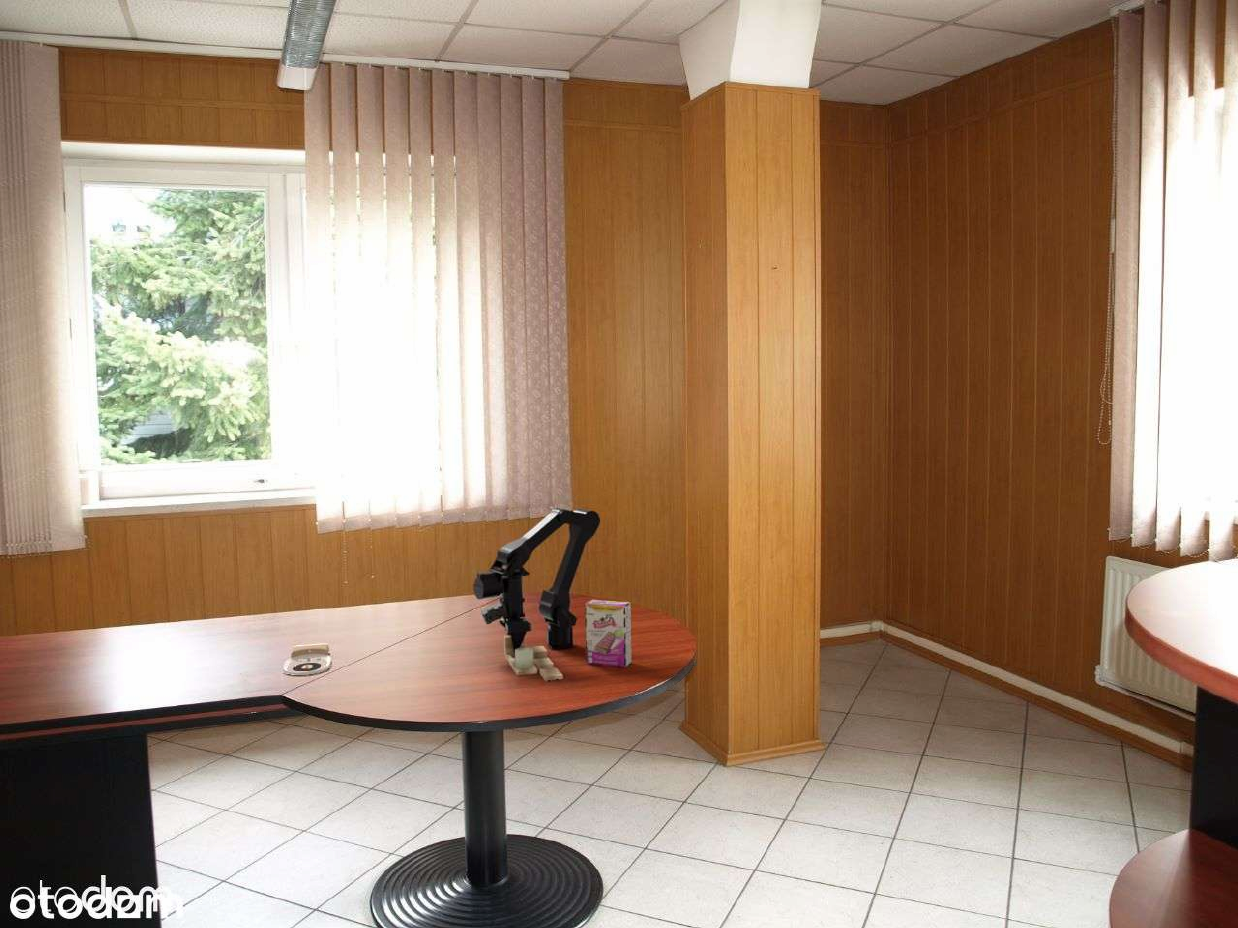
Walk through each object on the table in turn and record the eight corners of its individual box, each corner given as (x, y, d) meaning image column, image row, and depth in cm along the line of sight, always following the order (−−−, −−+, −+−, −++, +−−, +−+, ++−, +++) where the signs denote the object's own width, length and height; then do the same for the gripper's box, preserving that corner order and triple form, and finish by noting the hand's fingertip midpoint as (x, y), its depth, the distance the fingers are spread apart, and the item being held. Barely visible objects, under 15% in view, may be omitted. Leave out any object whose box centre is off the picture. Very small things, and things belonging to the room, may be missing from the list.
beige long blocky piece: (523, 653, 285) (522, 633, 285) (537, 673, 268) (536, 652, 267) (504, 655, 284) (503, 635, 283) (517, 675, 266) (516, 654, 266)
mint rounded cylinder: (531, 663, 273) (531, 646, 272) (535, 668, 268) (534, 651, 268) (514, 665, 271) (513, 648, 271) (517, 670, 267) (516, 653, 266)
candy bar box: (585, 665, 274) (584, 603, 272) (592, 659, 278) (590, 598, 277) (626, 668, 270) (624, 605, 268) (632, 662, 275) (631, 601, 273)
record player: (332, 642, 290) (328, 664, 271) (333, 653, 291) (328, 675, 271) (288, 645, 288) (280, 668, 269) (289, 656, 289) (281, 679, 269)
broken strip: (543, 654, 284) (543, 645, 284) (562, 678, 262) (562, 669, 262) (527, 655, 283) (527, 647, 283) (545, 680, 261) (545, 671, 261)
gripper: (477, 588, 288) (479, 644, 290) (488, 604, 270) (490, 662, 272) (517, 585, 291) (518, 640, 293) (530, 600, 274) (532, 658, 275)
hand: (514, 650), depth 283 cm, fingers open, 5 cm apart
